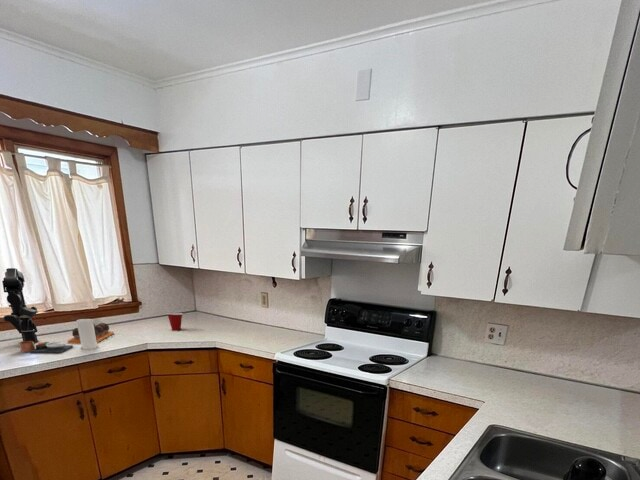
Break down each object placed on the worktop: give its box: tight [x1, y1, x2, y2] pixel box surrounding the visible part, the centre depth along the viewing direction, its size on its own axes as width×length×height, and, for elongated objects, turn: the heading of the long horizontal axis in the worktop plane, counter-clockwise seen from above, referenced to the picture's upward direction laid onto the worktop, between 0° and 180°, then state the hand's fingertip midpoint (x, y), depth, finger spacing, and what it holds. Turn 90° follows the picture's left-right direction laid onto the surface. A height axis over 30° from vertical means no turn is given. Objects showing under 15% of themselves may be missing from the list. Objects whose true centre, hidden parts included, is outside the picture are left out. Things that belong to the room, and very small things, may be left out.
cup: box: [76, 318, 98, 350], centre depth 247 cm, size 8×8×16 cm
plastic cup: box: [166, 311, 184, 332], centre depth 300 cm, size 11×11×12 cm
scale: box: [29, 344, 74, 355], centre depth 241 cm, size 16×14×3 cm
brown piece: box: [67, 322, 115, 344], centre depth 270 cm, size 28×17×8 cm, turn 4°
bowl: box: [18, 340, 36, 353], centre depth 238 cm, size 7×7×5 cm
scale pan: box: [43, 341, 66, 347], centre depth 241 cm, size 14×11×1 cm
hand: (23, 331), depth 234 cm, fingers open, 5 cm apart
